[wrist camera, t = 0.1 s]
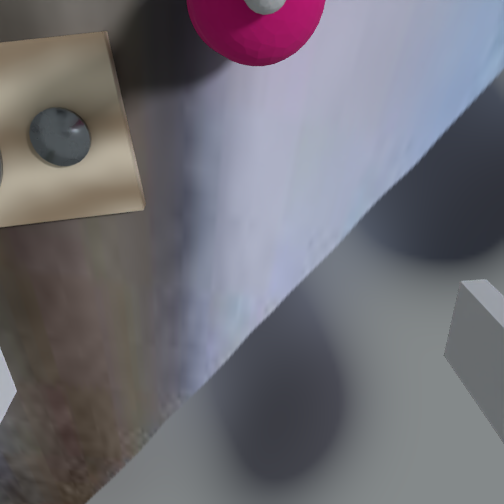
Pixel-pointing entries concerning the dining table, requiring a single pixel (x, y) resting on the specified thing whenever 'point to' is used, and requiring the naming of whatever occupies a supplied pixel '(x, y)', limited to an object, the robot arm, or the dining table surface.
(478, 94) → the dining table surface
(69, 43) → the tan flat board
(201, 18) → the pepper mill
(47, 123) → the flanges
